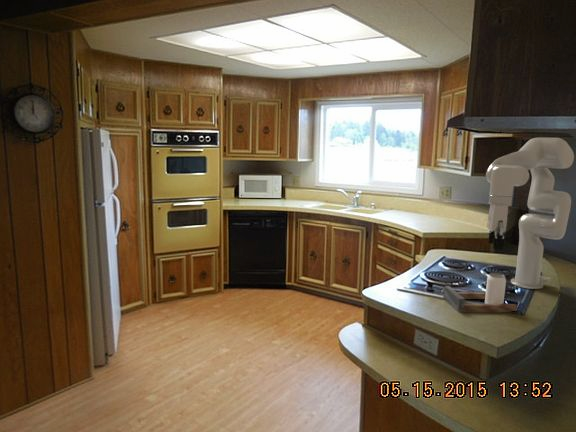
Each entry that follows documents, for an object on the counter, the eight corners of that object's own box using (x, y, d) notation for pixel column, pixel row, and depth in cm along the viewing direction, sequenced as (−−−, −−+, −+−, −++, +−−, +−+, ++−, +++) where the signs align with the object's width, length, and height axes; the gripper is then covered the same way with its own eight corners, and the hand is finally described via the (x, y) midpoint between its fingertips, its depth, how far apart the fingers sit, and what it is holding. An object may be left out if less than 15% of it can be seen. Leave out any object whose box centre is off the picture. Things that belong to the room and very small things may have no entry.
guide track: (497, 298, 173) (498, 286, 173) (516, 312, 160) (518, 299, 159) (443, 298, 173) (444, 286, 172) (457, 311, 159) (459, 298, 158)
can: (501, 309, 162) (504, 278, 160) (482, 305, 166) (485, 275, 164) (504, 304, 167) (508, 274, 165) (486, 300, 171) (489, 271, 169)
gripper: (485, 197, 167) (480, 240, 169) (493, 202, 150) (488, 250, 153) (506, 198, 165) (501, 242, 167) (517, 204, 148) (511, 252, 151)
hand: (495, 246), depth 160 cm, fingers open, 9 cm apart
